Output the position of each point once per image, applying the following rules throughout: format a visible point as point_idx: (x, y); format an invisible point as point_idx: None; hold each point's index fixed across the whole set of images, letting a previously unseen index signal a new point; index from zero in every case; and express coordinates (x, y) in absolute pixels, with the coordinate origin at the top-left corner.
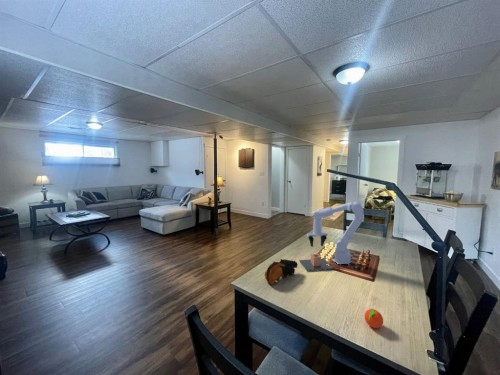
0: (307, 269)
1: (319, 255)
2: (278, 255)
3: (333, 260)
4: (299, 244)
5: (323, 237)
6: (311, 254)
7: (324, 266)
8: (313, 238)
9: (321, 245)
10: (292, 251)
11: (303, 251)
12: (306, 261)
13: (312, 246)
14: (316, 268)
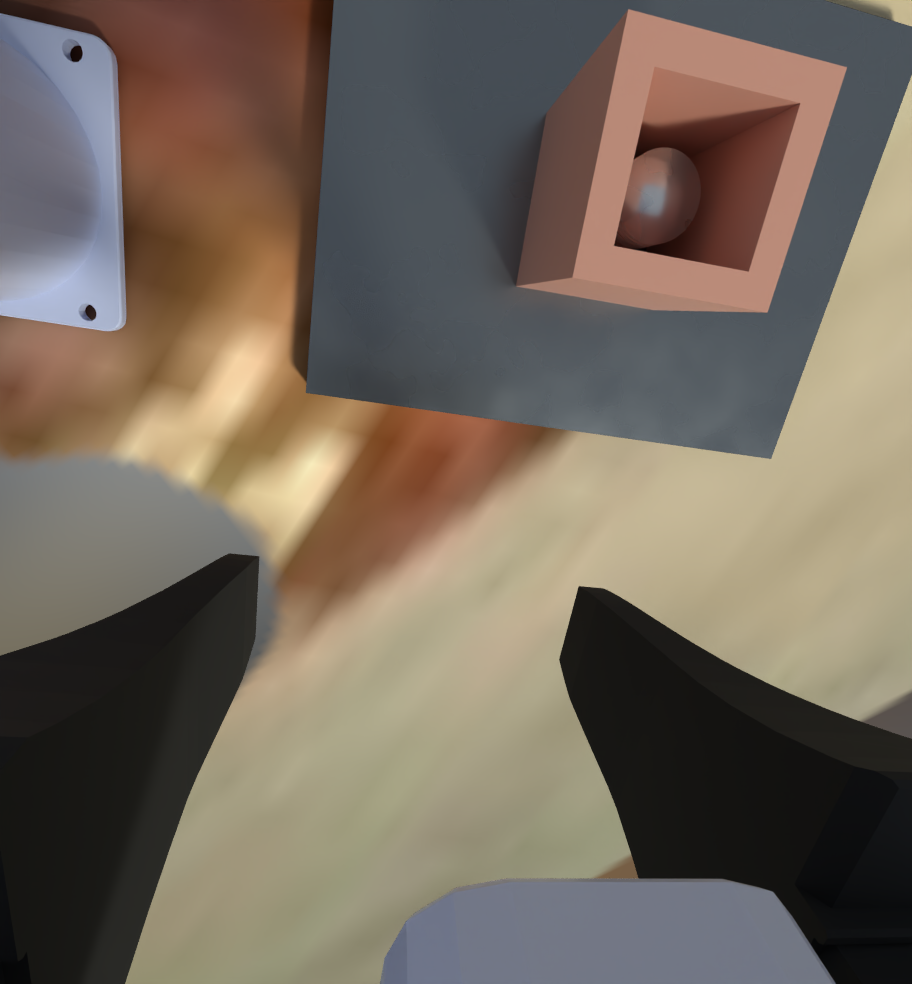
0: (904, 53)
1: (610, 144)
2: (883, 693)
3: (119, 274)
4: (390, 940)
5: (17, 824)
6: (767, 293)
7: (503, 39)
8: (899, 778)
9: (255, 599)
10: None
11: (468, 743)
12: (695, 375)
13: (593, 589)
14: (719, 20)
